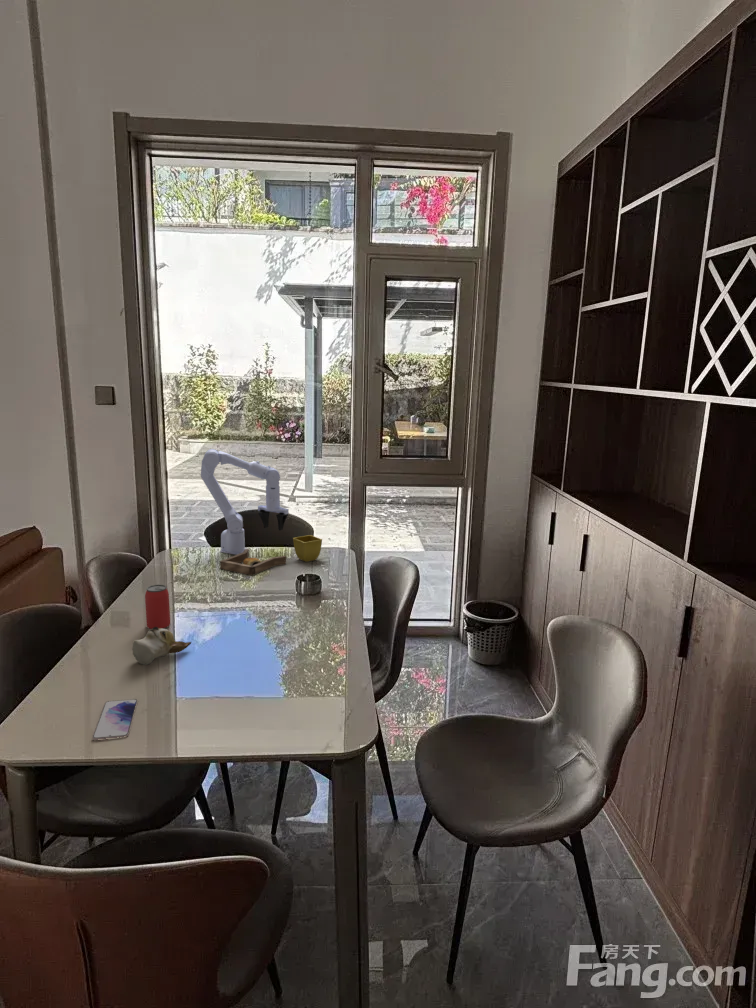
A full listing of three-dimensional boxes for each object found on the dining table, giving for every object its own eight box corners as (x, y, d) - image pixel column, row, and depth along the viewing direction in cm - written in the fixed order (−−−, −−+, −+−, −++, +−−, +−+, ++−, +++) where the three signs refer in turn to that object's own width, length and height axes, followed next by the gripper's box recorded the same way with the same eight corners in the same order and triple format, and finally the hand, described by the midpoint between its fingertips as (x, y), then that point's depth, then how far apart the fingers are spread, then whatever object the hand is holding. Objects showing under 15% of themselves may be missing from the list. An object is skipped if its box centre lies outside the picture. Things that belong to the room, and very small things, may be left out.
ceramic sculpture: (119, 630, 155) (164, 614, 168) (119, 662, 156) (164, 644, 169) (149, 640, 150) (193, 622, 163) (149, 673, 151) (193, 653, 164)
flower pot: (310, 555, 252) (310, 534, 250) (322, 560, 245) (322, 539, 243) (292, 559, 246) (292, 537, 244) (304, 564, 240) (304, 542, 238)
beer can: (162, 631, 175) (160, 592, 173) (142, 629, 177) (139, 590, 174) (174, 622, 182) (172, 584, 179) (154, 620, 183) (152, 582, 180)
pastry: (239, 564, 238) (238, 555, 238) (255, 562, 242) (255, 553, 241) (248, 571, 231) (248, 561, 230) (264, 568, 235) (264, 559, 234)
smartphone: (138, 698, 139) (128, 735, 125) (138, 702, 139) (128, 739, 125) (104, 700, 137) (90, 738, 123) (105, 704, 137) (90, 742, 123)
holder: (215, 567, 234) (215, 560, 233) (246, 555, 250) (246, 548, 249) (257, 576, 224) (257, 568, 224) (287, 563, 240) (286, 556, 240)
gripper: (292, 497, 254) (293, 528, 256) (264, 493, 260) (265, 524, 263) (282, 500, 247) (283, 532, 250) (254, 496, 254) (255, 527, 257)
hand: (273, 528), depth 256 cm, fingers open, 7 cm apart
